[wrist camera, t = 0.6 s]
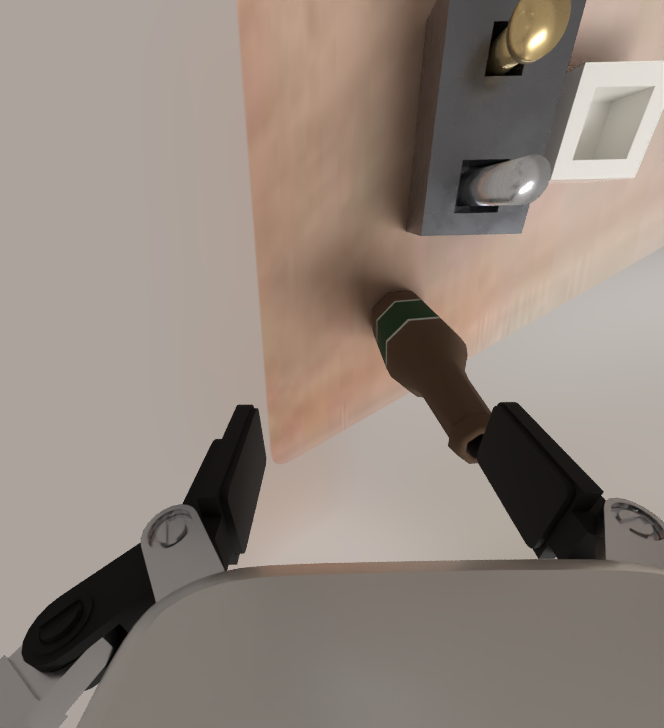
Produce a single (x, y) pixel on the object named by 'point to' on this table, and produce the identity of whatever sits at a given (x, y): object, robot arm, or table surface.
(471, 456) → the beer bottle
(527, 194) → the silver rounded peg
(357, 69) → the table surface
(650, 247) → the table surface
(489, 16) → the socket block
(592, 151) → the holder
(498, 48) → the key
